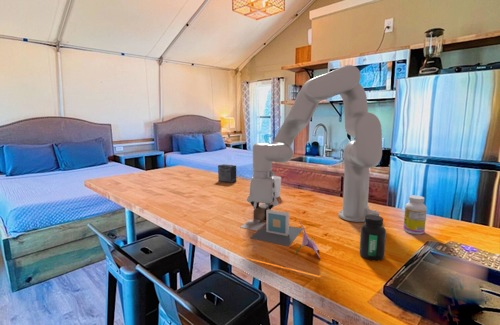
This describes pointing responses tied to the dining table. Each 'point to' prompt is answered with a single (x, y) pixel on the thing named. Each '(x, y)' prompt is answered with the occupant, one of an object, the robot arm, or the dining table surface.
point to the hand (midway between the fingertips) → (262, 218)
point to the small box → (227, 173)
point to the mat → (277, 236)
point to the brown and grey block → (256, 219)
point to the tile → (277, 222)
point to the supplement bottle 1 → (372, 238)
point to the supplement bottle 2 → (415, 215)
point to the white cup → (277, 185)
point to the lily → (308, 242)
